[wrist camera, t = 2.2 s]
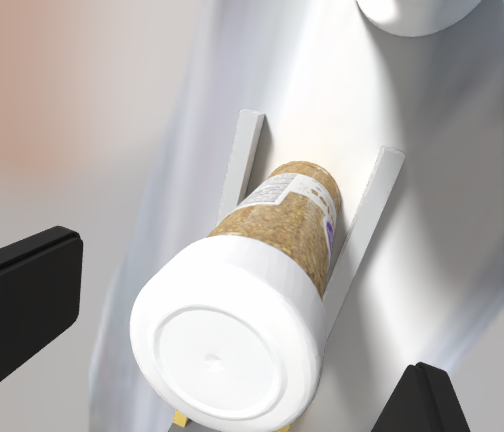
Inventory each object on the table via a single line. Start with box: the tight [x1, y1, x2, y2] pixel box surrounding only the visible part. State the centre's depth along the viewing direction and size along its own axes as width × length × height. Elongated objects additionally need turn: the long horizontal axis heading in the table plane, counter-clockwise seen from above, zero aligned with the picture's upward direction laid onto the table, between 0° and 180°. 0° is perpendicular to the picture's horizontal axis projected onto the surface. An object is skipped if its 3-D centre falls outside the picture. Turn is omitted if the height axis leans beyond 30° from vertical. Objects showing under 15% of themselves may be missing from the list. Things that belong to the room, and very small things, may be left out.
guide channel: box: [168, 109, 406, 432], centre depth 20 cm, size 27×8×6 cm, turn 165°
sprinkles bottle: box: [130, 161, 340, 432], centre depth 13 cm, size 5×5×13 cm
